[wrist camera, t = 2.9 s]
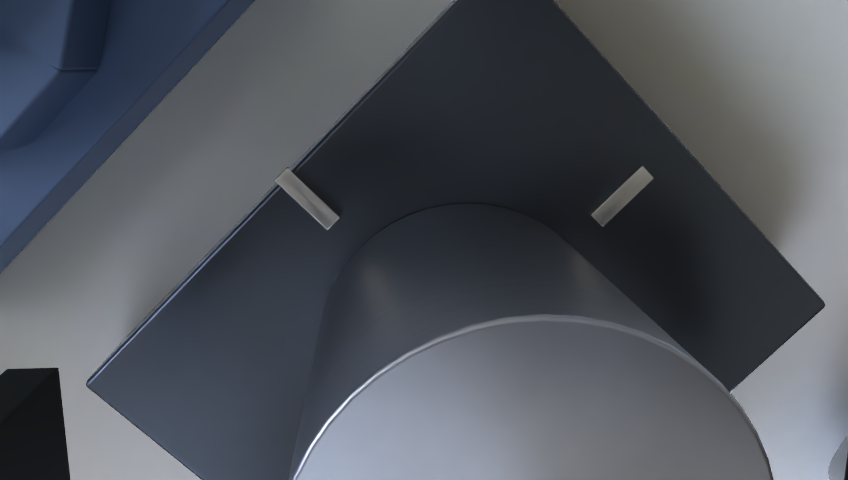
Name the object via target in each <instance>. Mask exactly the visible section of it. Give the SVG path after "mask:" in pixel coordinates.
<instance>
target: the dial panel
mask: <svg viewBox="0 0 848 480" xmlns="http://www.w3.org/2000/svg"><path fill="white" fill-rule="evenodd" d="M275 182H276V184H275V185H274V186H273V187H272V188H271V189H270V190H269V191H268V192H267V193H266V194H265V195H264V196H263V197H262V198H261V199H260V200H259V201H258V202H257V203H256V204H255V205H254V206H253V207H252V208H251V209H250V210H249V212H248V213H247V214H246V215H245V216H244V217H243V218H242V219H241V220H240V221H239V222H238V223H237V224H236V225H235V226H234V227H233V228H232V229H231V230H230V231H229V232H228V233H227V234H226V235H225V236H224V237H223V238H222V239H221V240H220V241H219V242H218V243H217V244H216V245H215V246H214V248H213V249H212V250H211V251H210V252H209V253H208V254H207V255H206V256H205V257H204V258H203V259H202V260H201V261H200V262H199V263H198V264H197V265H196V266H195V267H194V268H193V269H192V270H191V271H190V272H189V273H188V274H187V275H186V276H185V277H184V278H183V279H182V280H181V281H180V283H179V284H178V285H177V286H176V287H175V288H174V289H173V290H172V291H171V292H170V293H169V294H168V295H167V296H166V297H165V298H164V299H163V300H162V301H161V302H160V303H159V304H158V305H157V306H156V307H155V308H154V309H153V310H152V311H151V312H150V313H149V314H148V315H147V316H146V317H145V319H144V320H143V321H142V322H141V323H140V324H139V325H138V326H137V327H136V328H135V329H134V330H133V331H132V332H131V333H130V334H129V335H128V336H127V337H126V338H125V339H124V340H123V341H122V342H121V343H120V345H119V346H118V347H117V348H116V349H115V350H114V351H113V352H112V353H111V355H110V356H109V357H108V358H107V359H106V360H105V361H104V362H103V363H102V365H101V366H100V367H99V368H98V369H97V370H96V371H95V372H94V373H93V374H92V376H91V377H90V378H89V379H88V380H87V382H86V386H87V387H88V388H89V389H90V390H92V391H93V392H94V393H95V394H97V395H98V396H99V397H100V398H101V399H103V400H104V401H105V402H106V403H108V404H109V405H110V406H111V407H113V408H114V409H115V410H116V411H118V412H119V413H120V414H121V415H122V416H124V417H125V418H126V419H127V420H129V421H130V422H131V423H132V424H134V425H135V426H136V427H137V428H139V429H140V430H141V431H142V432H143V433H145V434H146V435H147V436H148V437H150V438H151V439H152V440H153V441H155V442H156V443H157V444H158V445H160V446H161V447H162V448H163V449H165V450H166V451H167V452H168V453H169V454H171V455H172V456H173V457H174V458H176V459H177V460H178V461H179V462H181V463H182V464H183V465H184V466H186V467H187V468H188V469H189V470H190V471H192V472H193V473H194V474H195V475H197V476H198V477H199V478H200V479H202V480H289V475H290V470H291V465H292V460H293V455H294V450H295V445H296V440H297V435H298V430H299V425H300V420H301V415H302V410H303V405H304V400H305V395H306V390H307V385H308V380H309V375H310V370H311V365H312V360H313V355H314V350H315V345H316V340H317V335H318V330H319V325H320V321H321V316H322V312H323V309H324V306H325V303H326V299H327V296H328V294H329V292H330V290H331V288H332V286H333V284H334V282H335V280H336V278H337V276H338V275H339V273H340V272H341V270H342V269H343V267H344V266H345V264H346V263H347V262H348V261H349V259H350V258H351V257H352V256H353V255H354V254H355V253H356V252H357V250H358V249H359V248H360V247H361V246H362V245H364V244H365V243H366V242H367V241H368V240H369V239H370V238H372V237H373V236H374V235H375V234H377V233H378V232H380V231H381V230H383V229H384V228H386V227H387V226H389V225H390V224H392V223H394V222H396V221H398V220H400V219H402V218H404V217H406V216H408V215H411V214H414V213H417V212H420V211H423V210H426V209H429V208H434V207H439V206H444V205H451V204H465V203H469V204H487V205H492V206H497V207H502V208H507V209H510V210H513V211H516V212H519V213H522V214H525V215H527V216H529V217H531V218H533V219H535V220H537V221H539V222H541V223H543V224H544V225H546V226H547V227H549V228H550V229H552V230H553V231H555V232H556V233H557V234H558V235H560V236H561V237H562V238H563V239H564V240H565V241H566V242H567V243H569V244H570V245H571V246H572V247H573V248H574V249H575V250H576V251H577V252H578V253H580V254H581V255H582V256H583V257H584V258H585V259H586V260H587V261H588V262H589V263H591V264H592V265H593V266H594V267H595V268H596V269H597V270H598V271H599V272H600V273H601V274H603V275H604V276H605V277H606V278H607V279H608V280H609V281H610V282H611V283H612V284H614V285H615V286H616V287H617V288H618V289H619V290H620V291H621V292H622V293H623V294H624V295H626V296H627V297H628V298H629V299H630V300H631V301H632V302H633V303H634V304H635V305H637V306H638V307H639V308H640V309H641V310H642V311H643V312H644V313H645V314H646V315H648V316H649V317H650V318H651V319H652V320H653V321H654V322H655V323H656V324H657V325H658V326H660V327H661V328H662V329H663V330H664V331H665V332H666V333H667V334H668V335H669V336H671V337H672V338H673V339H674V340H675V341H676V342H677V343H678V344H679V345H680V346H681V347H683V348H684V349H685V350H686V351H687V352H688V353H689V354H690V355H691V356H692V357H694V358H695V359H696V360H697V361H698V362H699V363H700V364H701V365H702V366H703V367H704V368H706V369H707V370H708V371H709V372H710V373H711V374H712V375H713V376H714V377H715V378H717V379H718V380H719V381H720V382H721V383H722V384H723V385H724V386H725V388H726V389H727V390H728V391H729V392H730V391H732V390H733V389H734V388H735V387H736V386H737V385H738V384H739V383H740V382H742V381H743V380H744V379H745V378H746V377H747V376H748V375H749V374H751V373H752V372H753V371H754V370H755V369H756V368H757V367H758V366H759V365H761V364H762V363H763V362H764V361H765V360H766V359H767V358H768V357H769V356H771V355H772V354H773V353H774V352H775V351H776V350H777V349H778V348H779V347H781V346H782V345H783V344H784V343H785V342H786V341H787V340H788V339H790V338H791V337H792V336H793V335H794V334H795V333H796V332H797V331H798V330H800V329H801V328H802V327H803V326H804V325H805V324H806V323H807V322H808V321H810V320H811V319H812V318H813V317H814V316H815V315H816V314H817V313H819V312H820V311H821V310H822V309H823V308H824V307H825V303H824V301H823V300H822V299H821V298H820V297H819V296H818V294H817V293H816V292H815V291H814V290H813V289H812V288H811V287H810V286H809V284H808V283H807V282H806V281H805V280H804V279H803V278H802V277H801V275H800V274H799V273H798V272H797V271H796V270H795V269H794V268H793V267H792V265H791V264H790V263H789V262H788V261H787V260H786V259H785V258H784V257H783V255H782V254H781V253H780V252H779V251H778V250H777V249H776V248H775V247H774V245H773V244H772V243H771V242H770V241H769V240H768V239H767V238H766V237H765V235H764V234H763V233H762V232H761V231H760V230H759V229H758V228H757V226H756V225H755V224H754V223H753V222H752V221H751V220H750V219H749V218H748V216H747V215H746V214H745V213H744V212H743V211H742V210H741V209H740V208H739V206H738V205H737V204H736V203H735V202H734V201H733V200H732V199H731V198H730V196H729V195H728V194H727V193H726V192H725V191H724V190H723V189H722V188H721V186H720V185H719V184H718V183H717V182H716V181H715V180H714V179H713V177H712V176H711V175H710V174H709V173H708V172H707V171H706V170H705V169H704V167H703V166H702V165H701V164H700V163H699V162H698V161H697V160H696V159H695V157H694V156H693V155H692V154H691V153H690V152H689V151H688V150H687V149H686V147H685V146H684V145H683V144H682V143H681V142H680V141H679V140H678V139H677V137H676V136H675V135H674V134H673V133H672V132H671V131H670V130H669V129H668V127H667V126H666V125H665V124H664V123H663V122H662V121H661V120H660V118H659V117H658V116H657V115H656V114H655V113H654V112H653V111H652V110H651V108H650V107H649V106H648V105H647V104H646V103H645V102H644V101H643V100H642V98H641V97H640V96H639V95H638V94H637V93H636V92H635V91H634V90H633V88H632V87H631V86H630V85H629V84H628V83H627V82H626V81H625V80H624V78H623V77H622V76H621V75H620V74H619V73H618V72H617V71H616V69H615V68H614V67H613V66H612V65H611V64H610V63H609V62H608V61H607V59H606V58H605V57H604V56H603V55H602V54H601V53H600V52H599V51H598V49H597V48H596V47H595V46H594V45H593V44H592V43H591V42H590V41H589V39H588V38H587V37H586V36H585V35H584V34H583V33H582V32H581V31H580V29H579V28H578V27H577V26H576V25H575V24H574V23H573V22H572V20H571V19H570V18H569V17H568V16H567V15H566V14H565V13H564V12H563V10H562V9H561V8H560V7H559V6H558V5H557V4H556V3H555V2H554V0H454V1H453V2H452V3H451V4H450V5H449V6H448V7H447V8H446V9H445V10H444V11H443V12H442V13H441V14H440V15H439V16H438V17H437V18H436V19H435V20H434V21H433V22H432V23H431V24H430V25H429V26H428V27H427V28H426V29H425V30H424V31H423V32H422V34H421V35H420V36H419V37H418V38H417V39H416V40H415V41H414V42H413V43H412V44H411V45H410V46H409V47H408V48H407V49H406V50H405V51H404V52H403V53H402V54H401V55H400V56H399V57H398V58H397V59H396V60H395V61H394V62H393V63H392V64H391V65H390V66H389V67H388V68H387V70H386V71H385V72H384V73H383V74H382V75H381V76H380V77H379V78H378V79H377V80H376V81H375V82H374V83H373V84H372V85H371V86H370V87H369V88H368V89H367V90H366V91H365V92H364V93H363V94H362V95H361V96H360V97H359V98H358V99H357V100H356V101H355V102H354V103H353V105H352V106H351V107H350V108H349V109H348V110H347V111H346V112H345V113H344V114H343V115H342V116H341V117H340V118H339V119H338V120H337V121H336V122H335V123H334V124H333V125H332V126H331V127H330V128H329V129H328V130H327V131H326V132H325V133H324V134H323V135H322V136H321V137H320V138H319V139H318V141H317V142H316V143H315V144H314V145H313V146H312V147H311V148H310V149H309V150H308V151H307V152H306V153H305V154H304V155H303V156H302V157H301V158H300V159H299V160H298V161H297V162H296V163H295V164H294V165H293V166H292V167H291V168H289V167H287V168H286V169H285V170H284V171H283V172H282V173H281V174H280V175H279V176H278V177H277V178H276V179H275Z"/></svg>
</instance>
